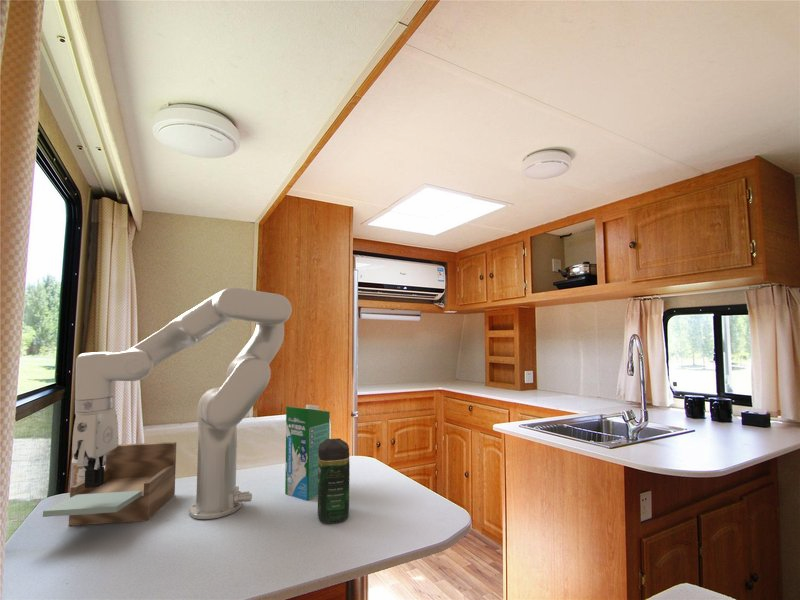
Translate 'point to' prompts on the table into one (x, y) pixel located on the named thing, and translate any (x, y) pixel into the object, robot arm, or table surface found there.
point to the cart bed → (133, 481)
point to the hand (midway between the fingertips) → (94, 485)
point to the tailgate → (93, 503)
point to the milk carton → (304, 449)
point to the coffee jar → (333, 481)
